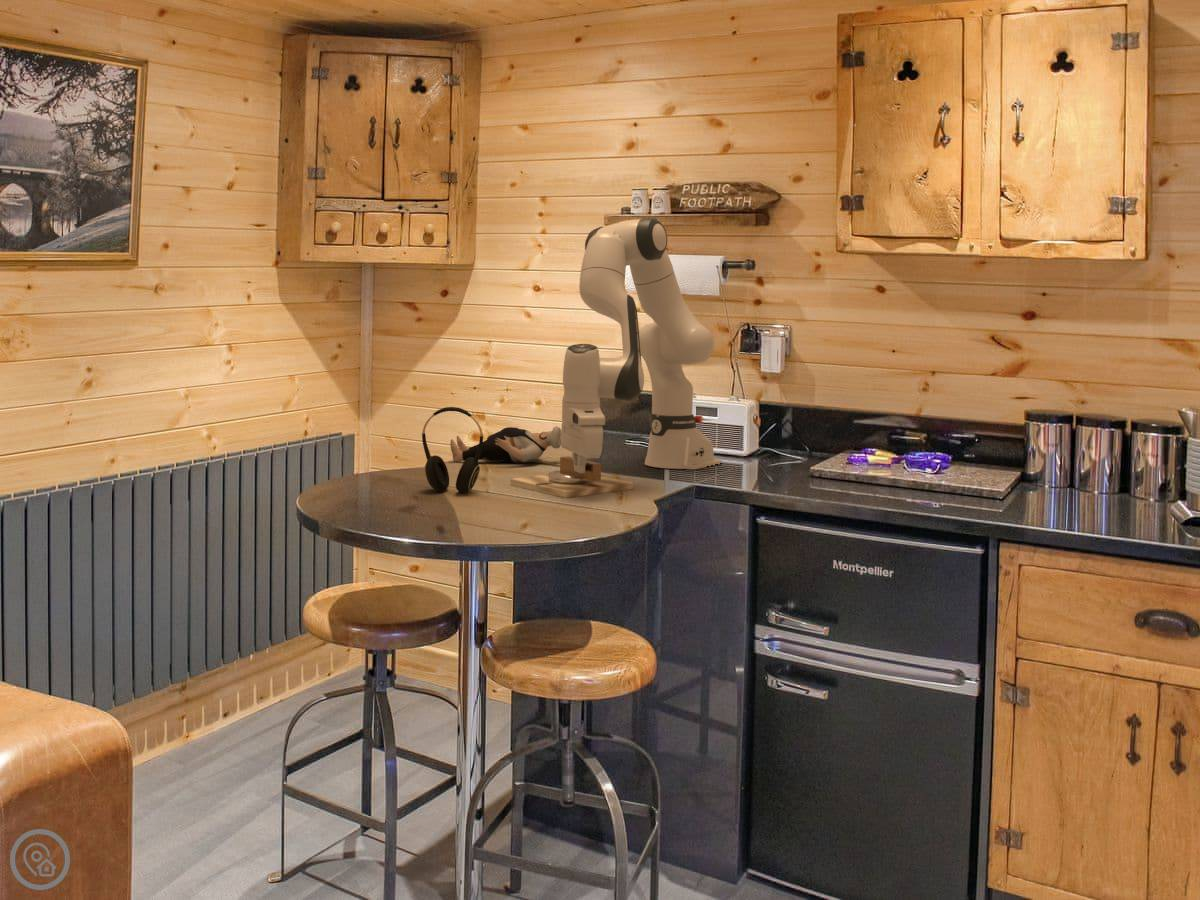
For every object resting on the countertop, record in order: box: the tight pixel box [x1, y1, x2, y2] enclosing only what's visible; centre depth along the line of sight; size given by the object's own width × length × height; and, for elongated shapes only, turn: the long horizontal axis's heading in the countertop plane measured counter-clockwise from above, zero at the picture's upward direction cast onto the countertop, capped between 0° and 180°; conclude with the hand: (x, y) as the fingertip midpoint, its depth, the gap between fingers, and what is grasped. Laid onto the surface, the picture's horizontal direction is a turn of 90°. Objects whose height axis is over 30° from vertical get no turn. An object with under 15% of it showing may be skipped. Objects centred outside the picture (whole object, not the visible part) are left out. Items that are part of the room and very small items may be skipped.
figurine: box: [449, 426, 561, 464], centre depth 309 cm, size 23×10×30 cm
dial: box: [548, 456, 602, 483], centre depth 270 cm, size 16×11×5 cm
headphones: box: [421, 406, 484, 494], centre depth 261 cm, size 9×15×20 cm, turn 80°
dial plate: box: [509, 473, 633, 499], centre depth 272 cm, size 21×21×2 cm
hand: (579, 472), depth 265 cm, fingers closed
